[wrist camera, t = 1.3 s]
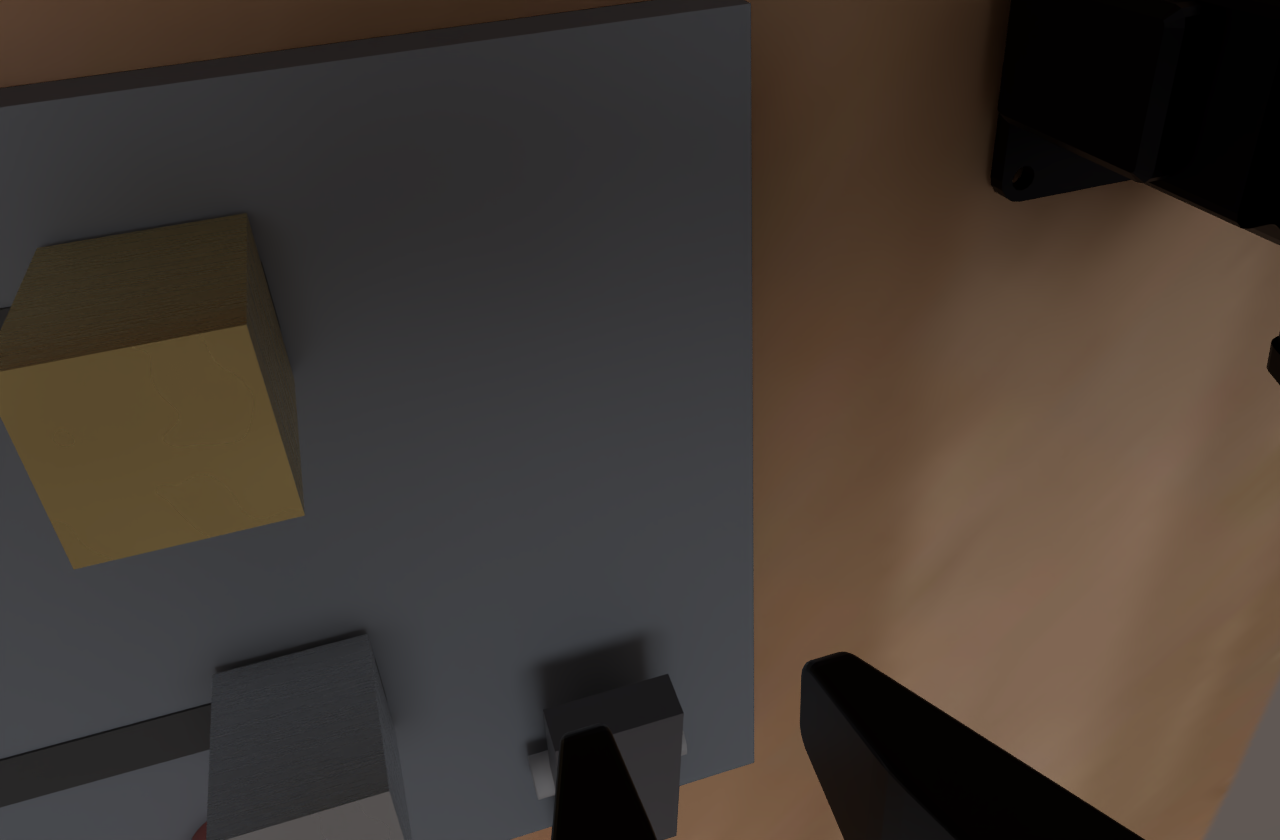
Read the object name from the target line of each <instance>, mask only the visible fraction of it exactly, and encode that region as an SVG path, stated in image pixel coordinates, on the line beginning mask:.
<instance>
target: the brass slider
mask: <svg viewBox="0 0 1280 840" xmlns="http://www.w3.org/2000/svg"><path fill="white" fill-rule="evenodd" d="M0 417H1V419H2V421H3V423H4V425H5V427H6V430H7V432H8V434H9V436H10V438H11V440H12V442H13V444H14V446H15V448H16V450H17V452H18V455H19V457H20V459H21V461H22V463H23V465H24V467H25V469H26V471H27V473H28V475H29V478H30V480H31V482H32V484H33V486H34V488H35V490H36V492H37V494H38V496H39V498H40V500H41V503H42V505H43V507H44V509H45V511H46V513H47V515H48V517H49V519H50V521H51V523H52V526H53V528H54V530H55V532H56V534H57V536H58V538H59V540H60V542H61V544H62V546H63V548H64V551H65V553H66V555H67V557H68V559H69V561H70V563H71V565H72V567H73V569H79V568H83V567H87V566H91V565H96V564H100V563H104V562H108V561H113V560H117V559H121V558H126V557H130V556H134V555H138V554H143V553H147V552H151V551H156V550H160V549H164V548H168V547H173V546H177V545H181V544H186V543H190V542H194V541H198V540H203V539H207V538H211V537H216V536H220V535H224V534H228V533H233V532H237V531H241V530H245V529H250V528H254V527H258V526H263V525H267V524H271V523H275V522H280V521H284V520H288V519H293V518H297V517H301V516H305V510H304V497H303V484H302V471H301V458H300V445H299V432H298V419H297V406H296V394H295V381H294V376H293V373H292V369H291V366H290V362H289V359H288V355H287V352H286V348H285V345H284V341H283V338H282V334H281V331H280V327H279V324H278V320H277V317H276V313H275V310H274V306H273V303H272V300H271V296H270V293H269V289H268V286H267V282H266V279H265V275H264V272H263V268H262V265H261V261H260V258H259V254H258V251H257V247H256V244H255V240H254V237H253V233H252V230H251V226H250V223H249V219H248V216H247V213H244V214H238V215H232V216H226V217H220V218H214V219H208V220H202V221H196V222H190V223H184V224H178V225H172V226H166V227H160V228H154V229H148V230H142V231H136V232H131V233H125V234H119V235H113V236H107V237H101V238H95V239H89V240H83V241H77V242H71V243H65V244H59V245H53V246H47V247H41V248H37V249H36V251H35V253H34V256H33V258H32V260H31V263H30V265H29V267H28V269H27V272H26V274H25V276H24V278H23V281H22V283H21V285H20V287H19V290H18V292H17V294H16V296H15V299H14V301H13V303H12V305H11V308H10V310H9V312H8V315H7V317H6V319H5V321H4V324H3V326H2V328H1V330H0Z"/></svg>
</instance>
